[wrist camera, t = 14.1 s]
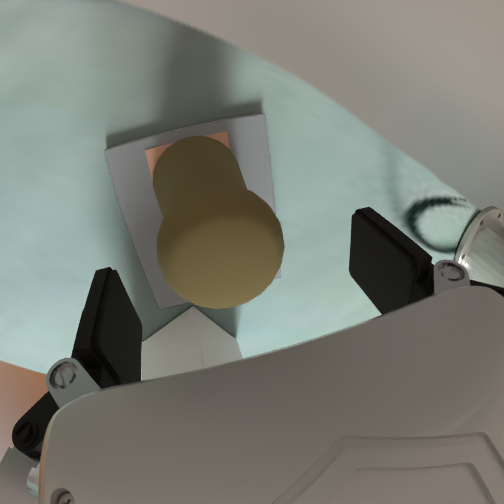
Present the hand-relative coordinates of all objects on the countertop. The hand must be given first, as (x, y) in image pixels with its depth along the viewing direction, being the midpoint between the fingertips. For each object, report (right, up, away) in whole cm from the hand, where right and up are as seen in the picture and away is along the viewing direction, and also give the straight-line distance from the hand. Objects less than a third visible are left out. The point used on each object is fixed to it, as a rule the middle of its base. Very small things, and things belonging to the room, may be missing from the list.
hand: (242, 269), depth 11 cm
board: (-4, +3, +11) cm, 12 cm away
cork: (-3, +6, +9) cm, 11 cm away
